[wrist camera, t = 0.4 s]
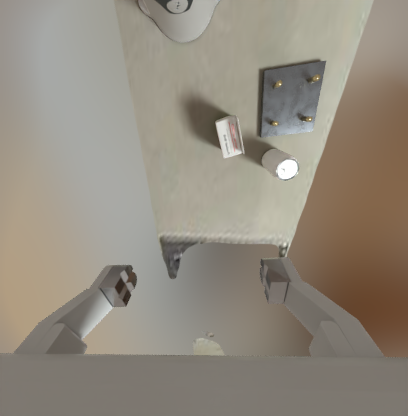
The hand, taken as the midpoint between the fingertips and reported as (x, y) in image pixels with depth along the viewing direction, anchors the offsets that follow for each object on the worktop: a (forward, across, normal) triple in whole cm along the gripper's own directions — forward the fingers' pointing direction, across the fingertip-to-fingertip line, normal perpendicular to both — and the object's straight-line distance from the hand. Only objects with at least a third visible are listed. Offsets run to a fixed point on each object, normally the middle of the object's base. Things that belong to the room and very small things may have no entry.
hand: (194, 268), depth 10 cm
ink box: (+46, -6, -4) cm, 46 cm away
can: (+46, -20, +5) cm, 50 cm away
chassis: (+45, -22, -9) cm, 51 cm away
